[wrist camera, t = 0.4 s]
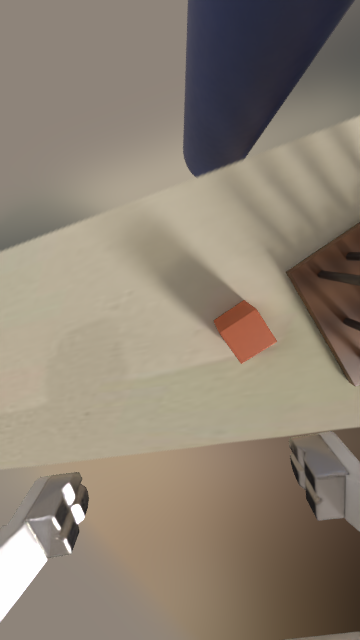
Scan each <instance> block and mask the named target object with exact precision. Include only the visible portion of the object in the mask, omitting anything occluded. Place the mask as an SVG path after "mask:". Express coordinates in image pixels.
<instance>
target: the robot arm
mask: <svg viewBox="0 0 360 640" xmlns="http://www.w3.org/2000/svg"><path fill="white" fill-rule="evenodd" d="M289 446H290V448H291V450H292V452H293V453H292V454H291V455H290V459H291V465H292V469H293V472H294V475H295V477H296V479H297V481H298V483H299V485H300V486H301V487H302V488H304V489H305V490H306V499H307V501H308V503H309V505H310V507H311V509H312V511H313V513H314V514H315V516H316V518H317V520H326V519H337V518H345V519H346V520H347V521H348V522H349V523H350V524H351V525H352V526H354V527H355V528H356V529H357V530H358V531H359V532H360V462H359V461H358V460H357V459H356V457H355V456H354V455H353V454H352V453H351V451H350V450H349V449H348V448H347V447H346V446H345V444H344V443H343V442H342V441H341V440H340V439H339V438H338V436H337V435H336V434H335V433H333V432H332V431H330V432H324V433H318V434H312V435H306V436H300V437H294V438H290V439H289ZM81 481H82V477H81V475H80V473H79V472H78V473H77V472H75V473H66V474H59V475H52V476H45V477H40V478H39V479H37V480H36V481H35V483H34V484H33V486H32V487H31V489H30V490H29V492H28V493H27V495H26V497H25V498H24V500H23V501H22V503H21V505H20V506H19V508H18V509H17V511H16V513H15V514H14V516H13V517H12V519H11V520H10V522H9V523H8V525H4V526H2V527H1V528H0V622H1V621H2V619H3V618H4V617H5V615H6V614H7V613H8V611H9V610H10V609H11V607H12V606H13V605H14V603H15V602H16V601H17V599H18V598H19V597H20V596H21V594H22V593H23V592H24V590H25V589H26V588H27V586H28V585H29V584H30V582H31V581H32V580H33V578H34V577H35V576H36V574H37V573H38V572H39V570H40V569H41V568H42V566H43V565H44V563H46V561H47V558H51V557H57V556H63V555H69V554H71V553H72V550H73V548H74V545H75V542H76V539H77V536H78V534H79V527H78V524H79V523H80V522H81V520H82V519H83V518H84V517H85V514H86V511H87V508H88V500H89V497H88V491H87V489H86V487H85V486H83V485H82V484H80V483H81ZM286 640H360V632H351V633H341V634H332V635H323V636H314V637H305V638H296V639H286Z"/></svg>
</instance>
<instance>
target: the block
mask: <svg viewBox="0 0 360 640" xmlns="http://www.w3.org/2000/svg"><path fill="white" fill-rule="evenodd" d="M214 323H215V325H216V327H217V329H218V331H219V333H220V335H221V336H222V338H223V339H224V340H225V342H226V343H227V345H228V346H229V347H230V349H231V350H232V352H233V353H234V354H235V356H236V357H237V359H238V360H239V361H240V363H241V364H242V363H243V362H245V361H247V360H248V359H250V358H252V357H253V356H255V355H256V354H258V353H260V352H261V351H263V350H265V349H266V348H268V347H269V346H271V345H273V344H274V343H276V342H277V340H276V339H275V337H274V336H273V334H272V333H271V331H270V330H269V328H268V326H267V325H266V323H265V322H264V320H263V319H262V317H261V316H260V314H259V312H258V311H257V309H256V308H254V307H253V306H252V305H250V304H249V303H248V302H246V301H245V300H243V301H242V302H240V303H239V304H237V305H236V306H234V307H233V308H231V309H230V310H228V311H227V312H225V313H224V314H222V315H221V316H220V317H218V318H217V319H215V320H214Z"/></svg>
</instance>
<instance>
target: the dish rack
mask: <svg viewBox="0 0 360 640" xmlns="http://www.w3.org/2000/svg"><path fill="white" fill-rule="evenodd" d="M286 273H287V275H288V277H289V278H290V280H291V282H292V284H293V285H294V287H295V289H296V291H297V292H298V294H299V296H300V298H301V299H302V301H303V303H304V304H305V306H306V308H307V310H308V311H309V313H310V315H311V317H312V318H313V320H314V322H315V323H316V325H317V327H318V329H319V330H320V332H321V334H322V336H323V337H324V339H325V341H326V343H327V344H328V346H329V348H330V349H331V351H332V353H333V355H334V356H335V358H336V360H337V362H338V363H339V365H340V367H341V368H342V370H343V372H344V374H345V375H346V377H347V379H348V381H349V382H350V383H351V384H353V385H354V386H357V385H359V384H360V223H358V224H357V225H355V226H354V227H352V228H351V229H349V230H348V231H346V232H345V233H343V234H342V235H340V236H339V237H337V238H336V239H334V240H333V241H331V242H330V243H328V244H327V245H325V246H324V247H322V248H321V249H319V250H318V251H316V252H315V253H313V254H312V255H311V256H309V257H308V258H306V259H305V260H303V261H302V262H300V263H299V264H297V265H296V266H294V267H293V268H291V269H290V270H288V271H287V272H286Z"/></svg>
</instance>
